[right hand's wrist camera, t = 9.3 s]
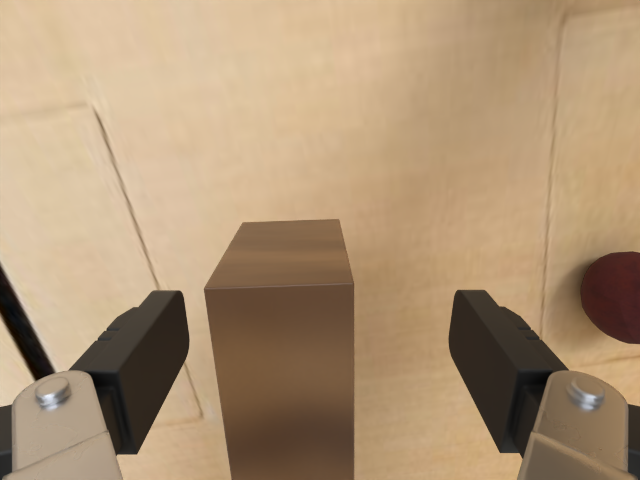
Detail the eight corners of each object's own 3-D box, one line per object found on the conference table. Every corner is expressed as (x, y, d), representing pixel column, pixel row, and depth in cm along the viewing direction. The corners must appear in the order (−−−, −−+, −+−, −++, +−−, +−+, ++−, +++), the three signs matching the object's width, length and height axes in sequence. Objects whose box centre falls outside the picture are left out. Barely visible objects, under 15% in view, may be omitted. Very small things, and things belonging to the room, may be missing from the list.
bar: (242, 222, 22) (202, 288, 14) (339, 218, 22) (354, 282, 14) (275, 544, 31) (262, 694, 23) (343, 541, 31) (354, 690, 23)
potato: (582, 327, 37) (640, 376, 31) (548, 269, 35) (602, 307, 29) (656, 286, 36) (733, 328, 29) (624, 223, 34) (700, 252, 27)
